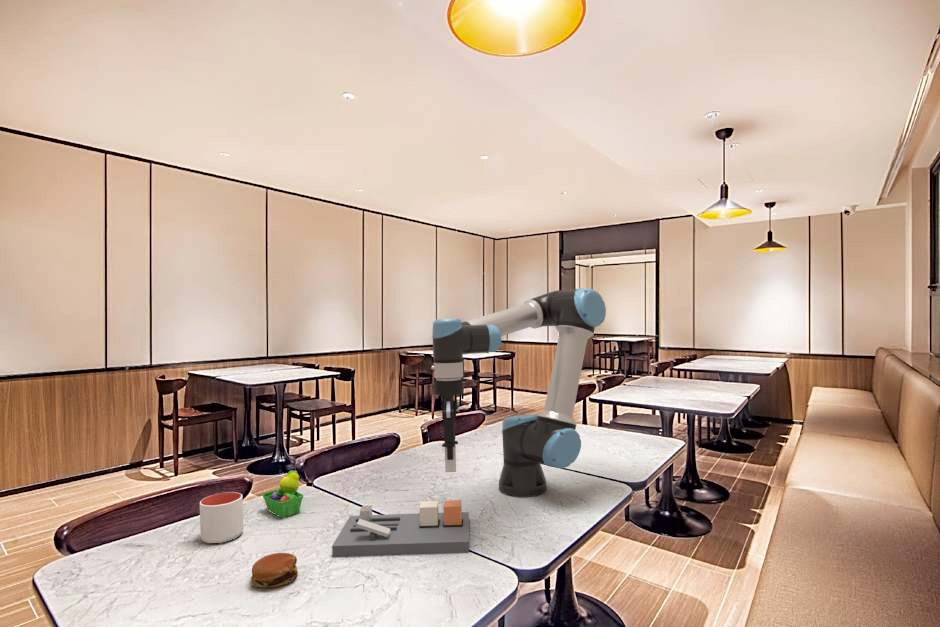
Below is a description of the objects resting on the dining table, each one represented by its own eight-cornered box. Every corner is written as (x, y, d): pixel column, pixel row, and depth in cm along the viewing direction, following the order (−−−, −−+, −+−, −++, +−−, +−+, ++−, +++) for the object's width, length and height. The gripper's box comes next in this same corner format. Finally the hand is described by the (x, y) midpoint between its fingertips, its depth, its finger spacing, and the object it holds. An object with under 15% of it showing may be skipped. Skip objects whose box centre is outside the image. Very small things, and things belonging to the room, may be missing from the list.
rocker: (389, 531, 124) (390, 528, 124) (387, 537, 121) (388, 534, 121) (358, 521, 124) (359, 518, 124) (355, 526, 121) (356, 523, 121)
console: (469, 521, 137) (468, 506, 137) (469, 552, 119) (468, 535, 119) (350, 525, 137) (349, 510, 137) (332, 556, 119) (331, 540, 119)
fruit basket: (261, 511, 149) (260, 473, 149) (289, 502, 155) (288, 465, 155) (280, 521, 141) (278, 480, 141) (309, 511, 148) (308, 472, 148)
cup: (226, 547, 126) (225, 506, 126) (191, 544, 128) (190, 505, 128) (251, 530, 136) (250, 492, 136) (218, 528, 138) (217, 491, 138)
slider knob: (372, 520, 132) (371, 505, 132) (369, 526, 128) (369, 510, 128) (363, 521, 132) (362, 505, 132) (360, 526, 128) (359, 511, 128)
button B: (438, 518, 132) (438, 500, 132) (437, 525, 128) (437, 507, 128) (421, 519, 132) (421, 501, 132) (420, 526, 128) (419, 507, 128)
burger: (246, 577, 111) (246, 556, 111) (290, 564, 116) (290, 544, 116) (257, 597, 103) (256, 574, 103) (303, 582, 108) (303, 560, 108)
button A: (461, 517, 132) (461, 500, 132) (461, 524, 128) (461, 506, 128) (444, 518, 132) (444, 500, 132) (444, 525, 128) (443, 506, 128)
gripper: (435, 376, 137) (437, 464, 136) (431, 382, 124) (434, 479, 123) (463, 375, 137) (465, 463, 136) (462, 381, 124) (465, 478, 123)
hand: (450, 471), depth 130 cm, fingers closed
